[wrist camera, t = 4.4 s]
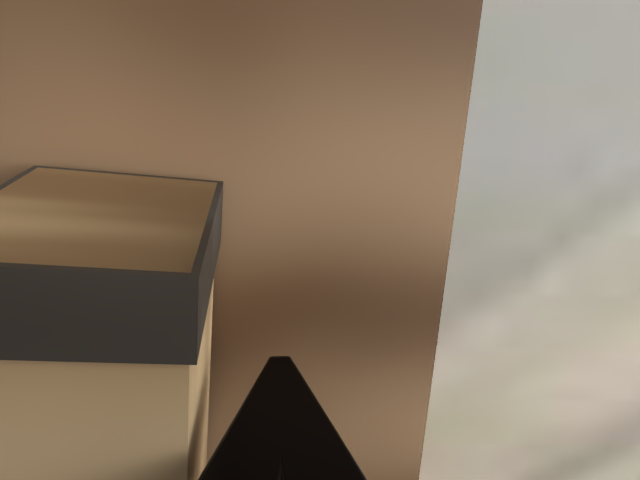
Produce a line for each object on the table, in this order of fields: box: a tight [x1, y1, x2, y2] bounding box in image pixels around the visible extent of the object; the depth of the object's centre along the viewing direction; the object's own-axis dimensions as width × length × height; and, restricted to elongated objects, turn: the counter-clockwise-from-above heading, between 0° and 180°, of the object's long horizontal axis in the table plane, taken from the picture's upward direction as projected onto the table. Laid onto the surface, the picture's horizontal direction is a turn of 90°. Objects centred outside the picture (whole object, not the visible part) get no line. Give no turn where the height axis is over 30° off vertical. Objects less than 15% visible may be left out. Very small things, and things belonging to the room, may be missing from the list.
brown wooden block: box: [0, 0, 483, 480], centre depth 10 cm, size 18×11×5 cm, turn 179°
